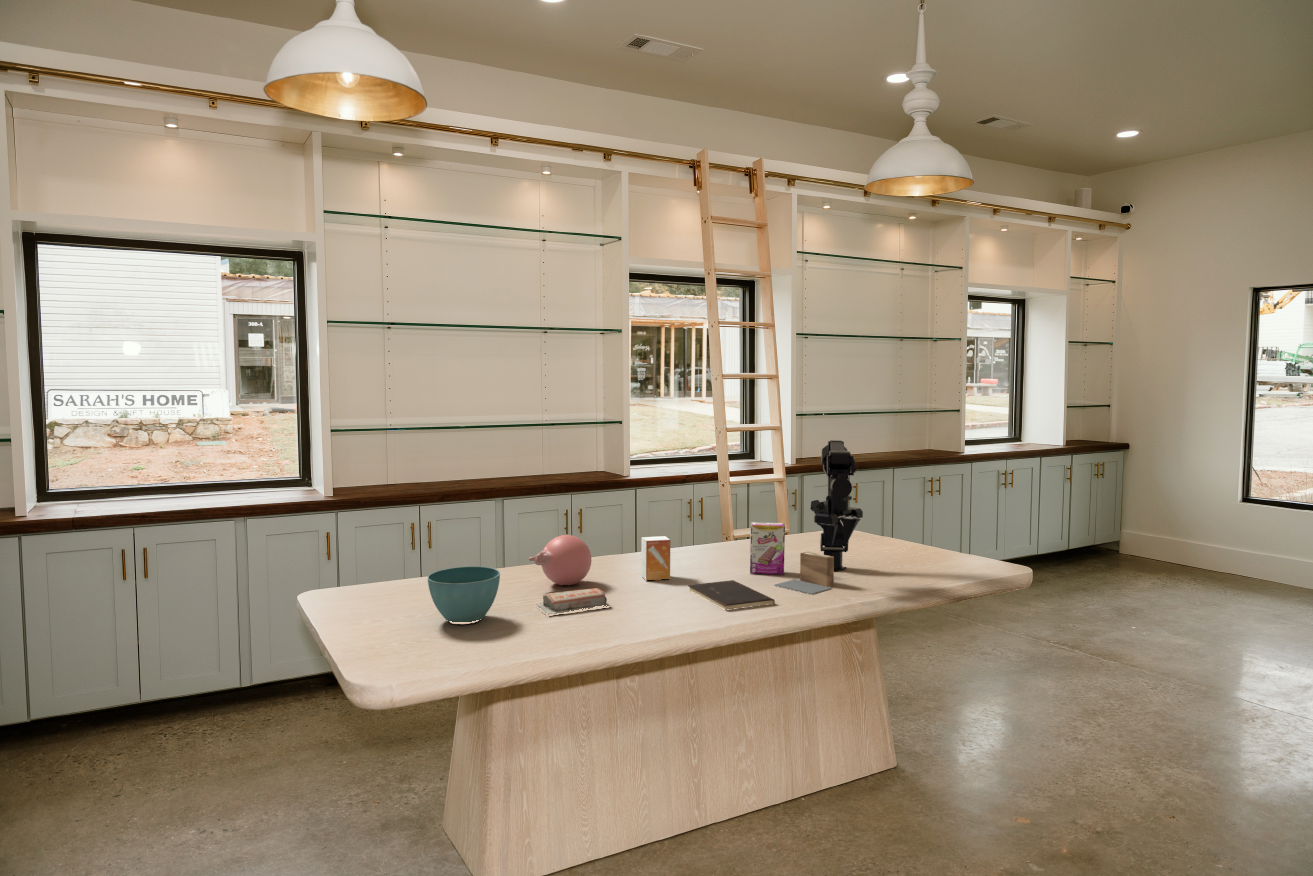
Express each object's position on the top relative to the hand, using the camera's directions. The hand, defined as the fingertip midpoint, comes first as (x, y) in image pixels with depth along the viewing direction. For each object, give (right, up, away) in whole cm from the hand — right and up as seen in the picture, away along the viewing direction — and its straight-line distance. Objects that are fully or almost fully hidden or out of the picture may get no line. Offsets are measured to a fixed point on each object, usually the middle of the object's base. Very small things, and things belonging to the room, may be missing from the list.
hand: (838, 543), depth 237 cm
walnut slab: (-6, -13, +4) cm, 15 cm away
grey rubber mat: (-11, -13, -1) cm, 17 cm away
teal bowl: (-106, -16, -35) cm, 112 cm away
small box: (-56, -13, +10) cm, 58 cm away
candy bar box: (-19, -12, +17) cm, 29 cm away
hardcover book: (-34, -15, -13) cm, 39 cm away
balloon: (-85, -13, +1) cm, 86 cm away
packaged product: (-79, -15, -23) cm, 83 cm away
